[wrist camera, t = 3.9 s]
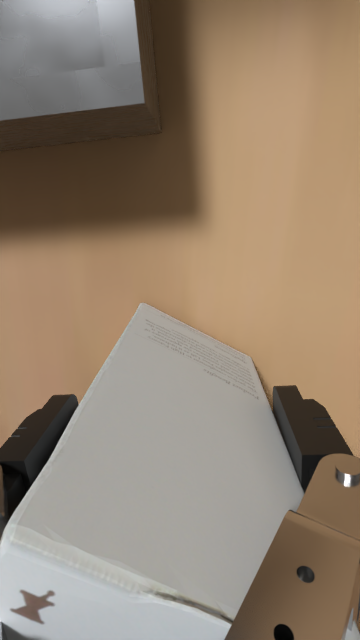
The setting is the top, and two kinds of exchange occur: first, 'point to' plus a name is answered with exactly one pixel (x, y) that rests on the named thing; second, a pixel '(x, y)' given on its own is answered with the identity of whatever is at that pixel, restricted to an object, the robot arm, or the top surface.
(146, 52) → the grey open tray
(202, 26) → the top surface
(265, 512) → the skincare box
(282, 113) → the top surface
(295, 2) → the top surface
